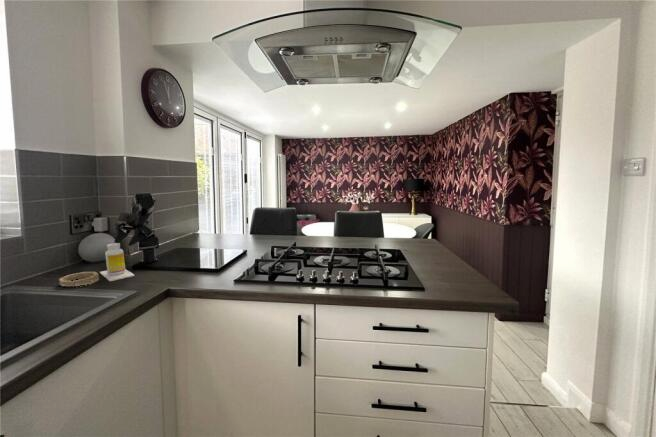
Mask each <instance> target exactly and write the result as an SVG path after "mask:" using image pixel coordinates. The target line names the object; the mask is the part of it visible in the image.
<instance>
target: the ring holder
mask: <svg viewBox="0 0 656 437" xmlns="http://www.w3.org/2000/svg"><path fill="white" fill-rule="evenodd" d="M76 279H78V280H76ZM58 280H59V281H58V282H59V286H60V285H61V286H80V285H85V286H88V285H87V284H89V285H92V284H94V283H96V282H98V281H99V280H100V277H99V273H98V272H97V271H82V272H76V273H72V274H71V273H70V274H67V275H65V276H63V277H60V278H59V279H58ZM71 280H73V281H71ZM61 286H60V287H61ZM80 287H81V286H80Z"/></svg>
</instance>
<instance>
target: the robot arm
mask: <svg viewBox="0 0 656 437" xmlns="http://www.w3.org/2000/svg"><path fill="white" fill-rule="evenodd" d="M133 197H134V200H133V201H132V202H131V204H130V210H131V212H130V213H126V212H120V213H119V214H118V218H117V220H118V221H123V222H115V224H114V225H113V228H114V230H115V231H116V236H115V239H114V242H113V243H120V242H122V241H123V240H125V238H127V237H128V236H129V234H131V232H133V236H132V237H131V239H130V241H129V242H128V245H127V246H129V247H131V246H133V245H135V244H137V250H138V251H139V252H141V255H142V259H140V262H142V263H143V262H144V263H143V264H147V262H149V263H153V262H152V261H154V262H157V260H158V261H159V259H158V258H157V257H156V249H157V250H158V249H159V248H160V239H159V238H158V236H157V234H156V233H155V230H154V229H152V228H151V227H150V225H149V220H150V218H151V216H152V215H153V214H154V212H155V210H154V207H155V203H156V198H155V196H154V195H153V194H152V193H151V191H149V192H147V191H146V192H136V193H135V195H134V196H133ZM124 222H125V223H124Z"/></svg>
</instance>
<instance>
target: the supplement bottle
mask: <svg viewBox="0 0 656 437" xmlns="http://www.w3.org/2000/svg"><path fill="white" fill-rule="evenodd" d="M106 248H107V250H106V251H105V253H104V254H105V264H106V271H107V273H108V274H109V275H118V274H122V273H124V272H125V271H126V270H125V269H126V264H125V262H126V261H125V254H124V250H123V249H122V248H121V243H120V242H119V243H114V242H113V243H108V244H107V245H106Z"/></svg>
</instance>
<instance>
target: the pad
mask: <svg viewBox="0 0 656 437" xmlns="http://www.w3.org/2000/svg"><path fill="white" fill-rule="evenodd" d="M125 270H126V271H125V272H124V273H122V274H118V275H109V274H108V273H107V270H104V271H103V270H102V271H99V274H100V275H102V277H104V278H105V279H106V280H107V281H108V282H113V281H118V280H122V279H126V278H132V277H135V274H134V273H132V272H131V271H129V270H127V269H126V268H125Z"/></svg>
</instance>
